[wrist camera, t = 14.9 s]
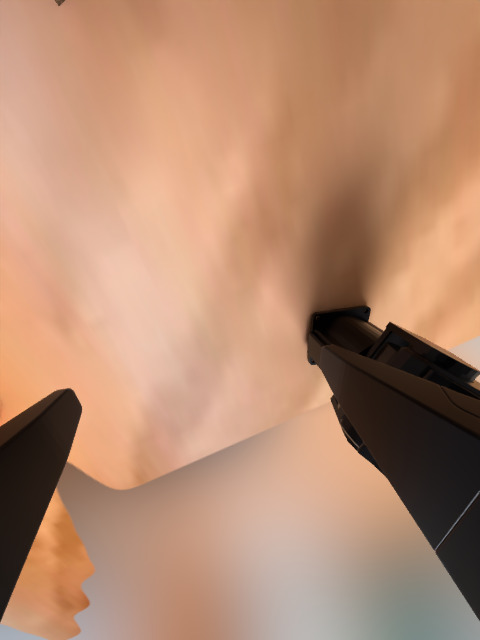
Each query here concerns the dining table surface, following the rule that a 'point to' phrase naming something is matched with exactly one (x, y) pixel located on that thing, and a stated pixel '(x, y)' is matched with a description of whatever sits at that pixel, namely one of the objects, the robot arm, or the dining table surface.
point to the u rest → (59, 2)
